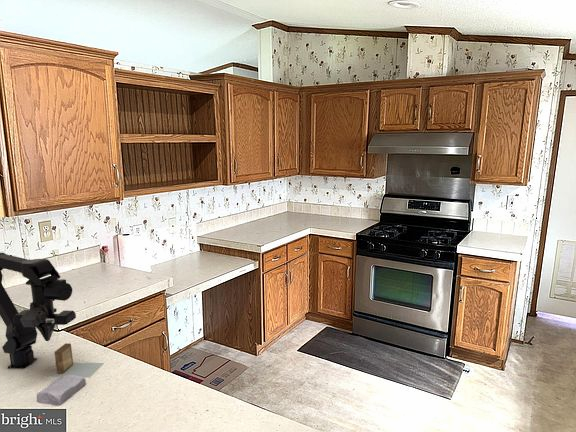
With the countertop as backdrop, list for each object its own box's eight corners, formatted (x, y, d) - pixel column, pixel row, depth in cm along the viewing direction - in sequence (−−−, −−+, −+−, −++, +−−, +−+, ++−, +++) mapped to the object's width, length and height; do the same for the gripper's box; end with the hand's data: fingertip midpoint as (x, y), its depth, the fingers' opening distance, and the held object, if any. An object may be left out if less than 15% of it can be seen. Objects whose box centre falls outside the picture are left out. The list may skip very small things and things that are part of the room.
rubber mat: (47, 377, 136) (47, 376, 136) (63, 362, 144) (63, 362, 144) (90, 378, 134) (89, 377, 134) (104, 363, 143) (104, 363, 143)
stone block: (34, 409, 122) (62, 407, 119) (30, 394, 121) (58, 392, 119) (63, 388, 133) (89, 385, 131) (60, 374, 133) (85, 371, 131)
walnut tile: (57, 373, 137) (54, 352, 136) (67, 364, 143) (65, 343, 141) (62, 374, 137) (60, 352, 135) (73, 364, 143) (71, 343, 141)
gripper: (-3, 306, 129) (4, 351, 131) (53, 307, 127) (58, 353, 130) (22, 293, 139) (28, 335, 142) (74, 294, 138) (79, 337, 141)
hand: (47, 340), depth 138 cm, fingers closed
